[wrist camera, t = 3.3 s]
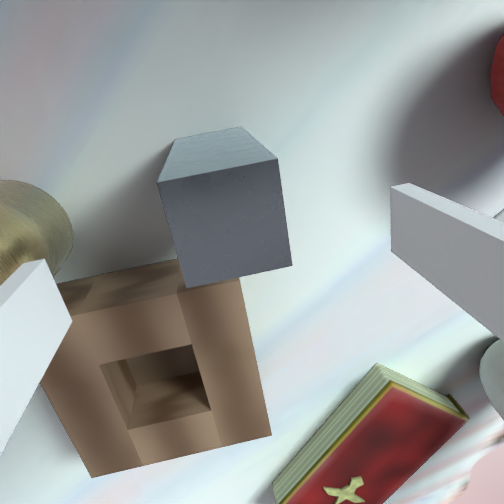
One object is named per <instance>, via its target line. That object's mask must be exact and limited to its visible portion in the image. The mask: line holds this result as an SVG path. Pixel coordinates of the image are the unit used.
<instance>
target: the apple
mask: <svg viewBox="0 0 504 504" xmlns="http://www.w3.org/2000/svg"><path fill="white" fill-rule="evenodd" d="M490 79H491V98H492V100H493V101H494V103H495V104H496V106H497V107H498V109H499V111H500V112H501V114H502V115H503V116H504V34H503V36H502V38H501V39H500V41H499V43H498V44H497V46H496V49H495V54H494V58H493V63H492V68H491V73H490Z"/></svg>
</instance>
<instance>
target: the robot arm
mask: <svg viewBox="0 0 504 504" xmlns="http://www.w3.org/2000/svg"><path fill="white" fill-rule="evenodd" d="M390 209H391V252H393V253H394V254H395V255H396V256H398V257H399V258H400V259H401V260H403V261H404V262H405V263H406V264H407V265H409V266H410V267H411V268H412V269H414V270H415V271H416V272H417V273H419V274H420V275H421V276H422V277H424V278H425V279H426V280H427V281H429V282H430V283H431V284H432V285H434V286H435V287H436V288H437V289H439V290H440V291H441V292H442V293H443V294H445V295H446V296H447V297H448V298H450V299H451V300H452V301H453V302H455V303H456V304H457V305H458V306H460V307H461V308H462V309H463V310H465V311H466V312H467V313H468V314H470V315H471V316H472V317H473V318H475V319H476V320H477V321H478V322H479V323H481V324H482V325H483V326H484V327H486V328H487V329H488V330H489V331H491V332H492V333H493V334H494V335H496V336H497V337H498V338H499V339H501V340H502V341H503V342H504V222H501V221H499V220H497V219H494V218H492V217H490V216H487V215H485V214H482V213H480V212H478V211H475V210H473V209H470V208H468V207H466V206H463V205H461V204H458V203H456V202H454V201H451V200H449V199H447V198H444V197H442V196H439V195H437V194H435V193H432V192H430V191H427V190H425V189H423V188H420V187H418V186H415V185H413V184H411V183H406V184H401V185H396V186H392V187H390ZM71 323H72V319H71V317H70V315H69V312H68V310H67V308H66V306H65V303H64V301H63V299H62V297H61V294H60V292H59V290H58V288H57V285H56V283H55V281H54V279H53V276H52V274H51V272H50V270H49V267H48V265H47V263H46V261H45V259H41V260H36V261H31V262H27V263H23V264H22V265H21V266H20V267H19V268H18V269H17V270H16V271H15V272H14V273H13V274H12V275H11V276H10V277H9V278H8V279H7V280H6V281H5V282H4V283H3V284H2V285H1V286H0V455H1V453H2V452H3V450H4V448H5V446H6V444H7V442H8V440H9V438H10V437H11V435H12V433H13V431H14V429H15V427H16V425H17V424H18V422H19V420H20V418H21V416H22V414H23V412H24V411H25V409H26V407H27V405H28V403H29V401H30V399H31V397H32V396H33V394H34V392H35V390H36V388H37V386H38V384H39V383H40V381H41V379H42V377H43V375H44V373H45V371H46V370H47V368H48V366H49V364H50V362H51V360H52V358H53V357H54V355H55V353H56V351H57V349H58V347H59V345H60V343H61V342H62V340H63V338H64V336H65V334H66V332H67V330H68V329H69V327H70V325H71Z"/></svg>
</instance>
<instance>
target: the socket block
mask: <svg viewBox="0 0 504 504" xmlns="http://www.w3.org/2000/svg"><path fill="white" fill-rule="evenodd" d="M56 285H57V288H58V290H59V292H60V294H61V297H62V299H63V301H64V303H65V306H66V308H67V310H68V312H69V315H70V317H71V319H72V323H71V325H70V327H69V329H68V330H67V332H66V334H65V336H64V338H63V340H62V342H61V343H60V345H59V347H58V349H57V351H56V353H55V355H54V357H53V358H52V360H51V362H50V364H49V366H48V368H47V370H46V371H45V373H44V375H43V377H42V379H41V381H40V384H41V385H42V387H43V389H44V391H45V393H46V395H47V397H48V398H49V400H50V402H51V404H52V406H53V408H54V409H55V411H56V413H57V415H58V417H59V419H60V421H61V422H62V424H63V426H64V428H65V430H66V432H67V433H68V435H69V437H70V439H71V441H72V443H73V444H74V446H75V448H76V450H77V452H78V454H79V456H80V457H81V459H82V461H83V463H84V465H85V467H86V468H87V470H88V472H89V474H90V476H91V478H94V477H98V476H103V475H107V474H111V473H115V472H119V471H124V470H128V469H132V468H136V467H141V466H145V465H149V464H153V463H157V462H162V461H166V460H170V459H174V458H178V457H183V456H187V455H191V454H195V453H200V452H204V451H208V450H212V449H216V448H221V447H225V446H229V445H233V444H237V443H242V442H246V441H250V440H254V439H259V438H263V437H267V436H271V435H272V433H271V429H270V424H269V419H268V414H267V409H266V405H265V400H264V395H263V390H262V385H261V381H260V376H259V371H258V366H257V361H256V357H255V352H254V347H253V342H252V337H251V333H250V328H249V323H248V318H247V313H246V309H245V304H244V299H243V294H242V289H241V285H240V280H239V277H237V278H233V279H228V280H223V281H219V282H214V283H209V284H204V285H200V286H195V287H190V288H186V285H185V281H184V278H183V274H182V271H181V267H180V264H179V260H178V259H173V260H168V261H164V262H159V263H154V264H149V265H145V266H140V267H135V268H130V269H125V270H121V271H116V272H111V273H106V274H101V275H97V276H92V277H87V278H82V279H78V280H73V281H68V282H63V283H58V284H56Z"/></svg>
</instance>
